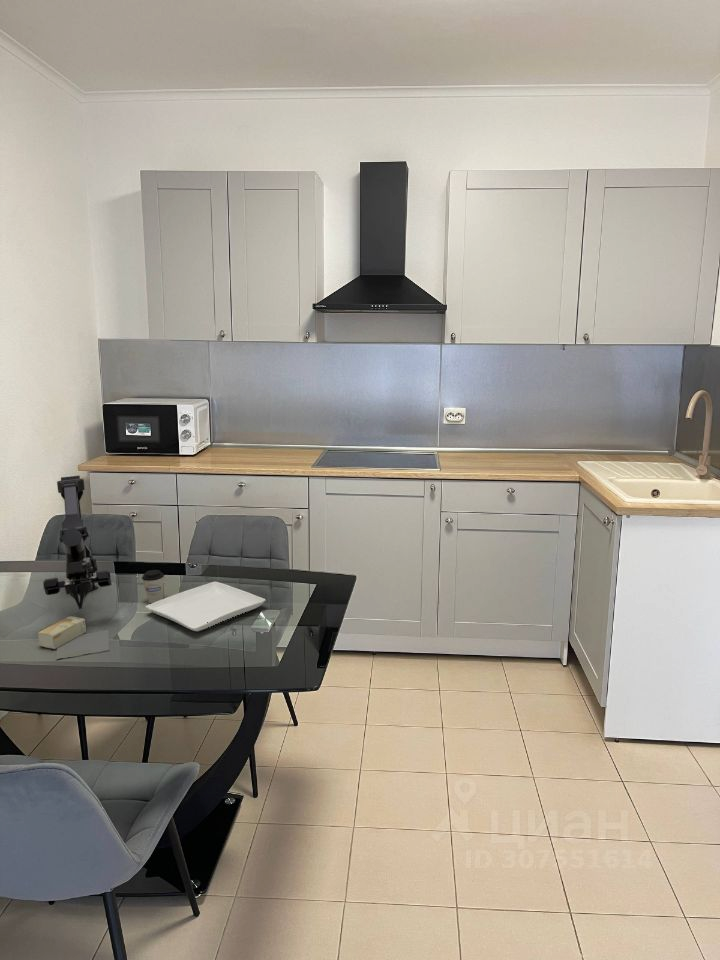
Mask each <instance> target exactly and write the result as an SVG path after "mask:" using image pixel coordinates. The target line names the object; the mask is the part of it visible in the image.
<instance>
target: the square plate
mask: <svg viewBox="0 0 720 960" xmlns="http://www.w3.org/2000/svg"><path fill="white" fill-rule="evenodd" d="M266 601H267V600H266V599H265V598H264V597H261V596H259V595H255V594H253V593H251V592H248V591H245V590H242V589H240V588H236V587H233V586H231V585H228V584H226V583H222V582H218V581H212V582H209V583H206V584H203V585H199V586H196V587H193V588H191V589H190V588H189V589H187V590H185V591H181V592H179V593H176V594H173V595H170V596H168V597H165V598H163V599H162V600H159V601H157V602H154V603H152V604H150V603H148V604H147V605H145V606H144V608H146V609H147V610H150V611H151V612H152V613H154V614H156V615H158V616H161V617H163V618H165V619H168V620H170V621H173V622H174V623H177V624H178V625H181V626H183V627H185V628H187V629H188V630H191V631H194V632H201V631H203V630H205V629H208V627H209V628H212V627H213V625H214V626H216V625H215V624H217V625H219V624H221V623H220V622H222V621H224V622H226V621H228V620H227V619H229V620H231V619H233V618H232V617H234V618H236V617H238V616H237V615H239V616H241V615H242V613H243V614H245V612H246V613H247V612H250V611H252V610H255V609H257V608H259V607H260V606H262V605H263V604H264V603H265V602H266ZM240 614H241V615H240ZM235 616H236V617H235ZM230 618H231V619H230ZM225 620H226V621H225ZM207 622H208V623H207ZM218 623H219V624H218ZM222 623H223V622H222ZM211 626H212V627H211Z"/></svg>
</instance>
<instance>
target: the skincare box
mask: <svg viewBox="0 0 720 960" xmlns="http://www.w3.org/2000/svg"><path fill="white" fill-rule="evenodd" d="M86 633H87V627H86V619H84V618H83V617H82V618H81V617H78V616H77V617H76V616H70V615H69V616H67V617H65V618H64V619H61V620H59V621H58V622H56V623H54V624H52V625H50V626H48V627H46V628H44V629H42V630H41V631H40V630H39V631H38V632H37V639H38V640H37V641H38V645H39V647H44V648H47V649H52V650H57V648H58V647H60V646H61V645H63V644H65V643H67V642H69V641H70V640H72V639H74V638H76V637H78V636H80V635H82V634H86Z"/></svg>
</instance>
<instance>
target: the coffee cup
mask: <svg viewBox="0 0 720 960" xmlns="http://www.w3.org/2000/svg"><path fill="white" fill-rule="evenodd" d="M141 576H142V577H141V579H142V582H143V585H144V589H145V593H146V597H147V601H148V604H150V603H154V602H157V601H159V600H162V599H164V577H165V575H164V573H163V572H162V571H161V570H160V569H151V570H147V571H145V573H144V574H143V575H141Z"/></svg>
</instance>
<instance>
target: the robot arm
mask: <svg viewBox="0 0 720 960" xmlns="http://www.w3.org/2000/svg"><path fill="white" fill-rule="evenodd" d="M56 484H57V485H56V486H57V493H58V494H60V497H62V499H63V500H64V512H65V518H64V519H63V520H62V522H61V529H60V531H59V541H60V544H61V543H62V545H63V546H62V547H63V550H64V553H65V562H66V563H65V566H66V567H65V568H66V569H65V573H66V574H65V575H66V579H64V580H62V581H61V580H60V581H59V579H58V577H52V578H46V579H44V581H43V590H44V592H45V595H46V596H52V595H57V594H58V595H59V593H60V592H61V589H63V588H64V590H65V593H66V595H70V596H71V597H72V598H73V600H74V602H75V604H76V606H77V608H78V610H82V609H83V607H84V604H85V600H86V598H87V596H88V595H89V592H92V591H94V590H96V589H99V587H100V588H106V587H111V586H112V578H111V572H110V571H109V570H107V569H106V570H102V571H98V564H97V559H95V557H94V555H92V551H91V550H90V548H89V547H88V546H87V545H86V543H85V542H86V540H87V539H88V538H89V537H90V531H89V529H88V528H87V526H84V525H85V524H84V520H83V518H82V517H83V516H82V511H81V510H82V508H81V500H82V498H83V496H84V491H85V490H86V485H85V484H86V483H85V478H84V477H83V478H81V476H80V475H73V476H72V475H71V476H61V477H60V480H57V481H56ZM94 574H95V575H96V576H94ZM96 584H97V585H96ZM78 594H79V595H78Z"/></svg>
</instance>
